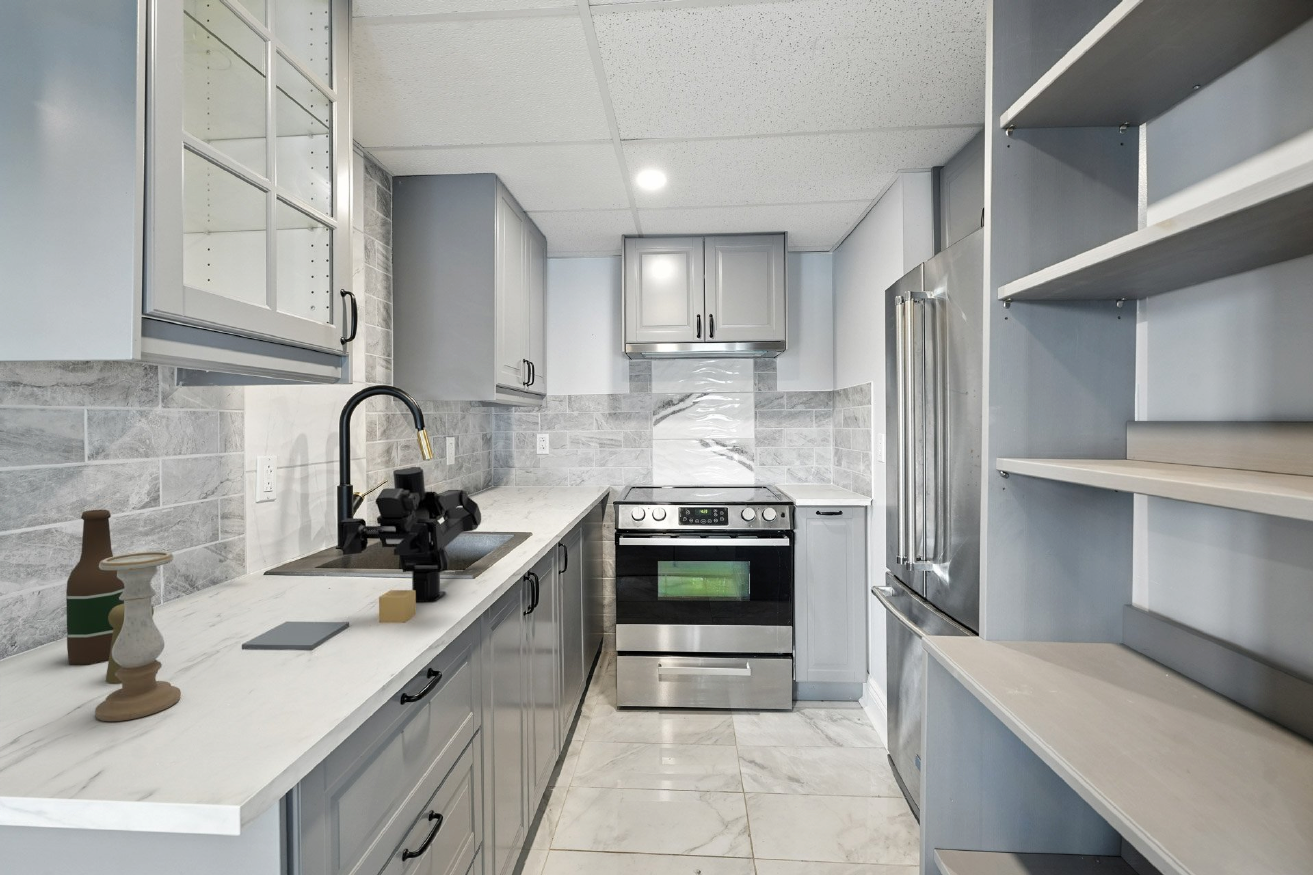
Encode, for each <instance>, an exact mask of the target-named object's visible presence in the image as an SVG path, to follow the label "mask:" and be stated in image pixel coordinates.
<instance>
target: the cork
mask: <svg viewBox="0 0 1313 875" xmlns="http://www.w3.org/2000/svg"><path fill="white" fill-rule="evenodd" d="M124 609H125V607H124V604H121V605H118V606H116V607H114V608H112V610H111V611H110V613H109V616H108V621H109V624H110V625H111V626H112V627H113V628H114V629H113V636H112V642H111V649H110V655H109V661H107V662H108V663H107V670H106V676H105V683H107V684H111V685H112V684H114V685H118V684H119V685H120V684H122V682H121V681H120V679H119V678H118V677H116V676H115V673H116V671H117V670H118V669H120V667H121V665H119V664H117V663H116V662H115V661H114V659H113V657H112V648H113V645H114V643H115V641H116V639H117V637H118V635H119V633H120V631H121V629H122V626H123V622H124ZM151 610H152V618H153V616H154V611H155V608H154V606H153V605H152V604H151Z"/></svg>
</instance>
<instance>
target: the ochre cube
mask: <svg viewBox="0 0 1313 875" xmlns="http://www.w3.org/2000/svg"><path fill="white" fill-rule="evenodd" d="M416 602H417V601H416V590H412V589H411V590H410V589H405V590H404V589H390V590H388V591H387V592H385V593H384V594H382V595H380V596H379V597H378V623H384V624H385V623H389V624H392V623H393V624H394V623H396V624H397V623H398V624H400V623H401V624H402V623H403V624H406V622H408V621H409V620H410V619H412V618H413V617H415V616H416V614H417V613H416V612H417V611H416V610H417V609H416V606H417V605H416Z"/></svg>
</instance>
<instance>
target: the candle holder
mask: <svg viewBox="0 0 1313 875" xmlns="http://www.w3.org/2000/svg"><path fill="white" fill-rule="evenodd" d="M173 561H174V554H173V553H172V552H169V551H144V552H132V553H125V554H120V555H113V557H109V558H106V559H103V560H101V561H100V563H99V568H100V569H102V570H108V571H117V578H118V579H120V580H121V581H122V582H123V583H124V586H125V589H124V591H123V593H122V594H121V595H120V597H119V600H122V601H124V607H125V609H124V622H123V626H122V629H121V631H120V633H119V635H118V637H117V639H116V641H115V643H114V645H113V648H112V657H113V659H114V661H115V662H116V663H117V664H119V665H121V667H120V669H118V670H117V671H116V673H115V676H116V677H118V678H119V679H120V681H121V682H122V683H121V688H119V689H117V690H115V691H113V692H111V693H109V694H108V695H107V696H106V698H105V700H103V701H102V702H100V703H98V705H97V706H96V707H95V710H94V714H95V718H96V719H97V720H99V721H102V722H121V721H123V722H124V721H129V720H134V719H139V718H143V717H147V716H150V715H153V714H157V713H159V712H163V710H164V711H165V710H166V709H168V708H170V707H172V706H174V705H175V704H177V703H178V702H179V701H180V698H181V696H182V694H181V693H182V692H181V689H180V688H179V687H178V686H173V685H172V684H171V683H170V682H168V681H164V680H156V679H157V674H158V672H159V671H160V669H162V667H163V664H162V662H161V661H159V660H158V658H159V656H160V655H161V654H162V653H163V651H164V649H165V639H164V637H163V635H162V633H161V631H160V630H159V628H158V626H157V625H156V624H155V621H154V618H153V617H152V610H151V605H152V599H153V597H154V596H156V595H157V591H156V590H154V588H153V587H152V585H151V584H152V580H153V578H154V577H155V576H156V575H157V573H158V572H159V571H158V567H159V566H163V565H166V564H170V563H171V562H173Z"/></svg>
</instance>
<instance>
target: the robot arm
mask: <svg viewBox="0 0 1313 875" xmlns="http://www.w3.org/2000/svg"><path fill="white" fill-rule="evenodd" d="M392 472H393V474H392V476H393V483H394V488H389V487H388V488H383V489H381V491H380V493H379V494H378V496H377V498H376V499H375V504H376V505H377V509H378V512H379V514H380V515H379V516H377V517H376V521H377V524H379V525H367V522H366V520H365V519H364V518H349V517H348V518H345V519H343V520H341V521H340V522H339V523H338V524H337V526H338V533H339V534H338V535H339V543H340V544H339V545H340V551H342V556H349V555H355V554H356V555H357V554H362V552H363V551H365V550H366V549H367V546H368V542H369V540H370V539H373V540H376V539H378V540H379V541H380V542H381V546H382V547H381V548H394V549H393V555H394V556H399V558H400V563H401V564H400V565H401V568H402V572H403V573H406V572H407V573H409V572H411V574H412V575H411V579H412V580H411V584H412V585H411V590H416V602H437V601H439V599H440V598H442V597H444V596H445V594H446V593H447V591H442V590H441V573H442V572H447V571H449V567H450V566H449V565H450V556H449V554H448V552H447V551H446V547H447V546H448V545H449V544H451V543H452V542H453V541H454V540H455V539H456V538H457V537H459V536H460V535H461V534H462V533H467V532H473V531H475V530H477V529H478V527H479V526H480V524H481V522H482V513H481V510H480V507H479V504H478V502H476V501H474V499H472V498H471V497H469V496H468V493H467V491H466V490H463V489H447V490H444V491H443V492H439V493H438V492H436V491H426V488H425V487H426V486H425V477H424V474H425V473H424V469H423V468H421V467H420V466H410V467H408V468H401V469H395V470H393V471H392ZM441 519H443V521H442V522H441V523H440V522H439V520H441ZM368 539H369V540H368Z"/></svg>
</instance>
